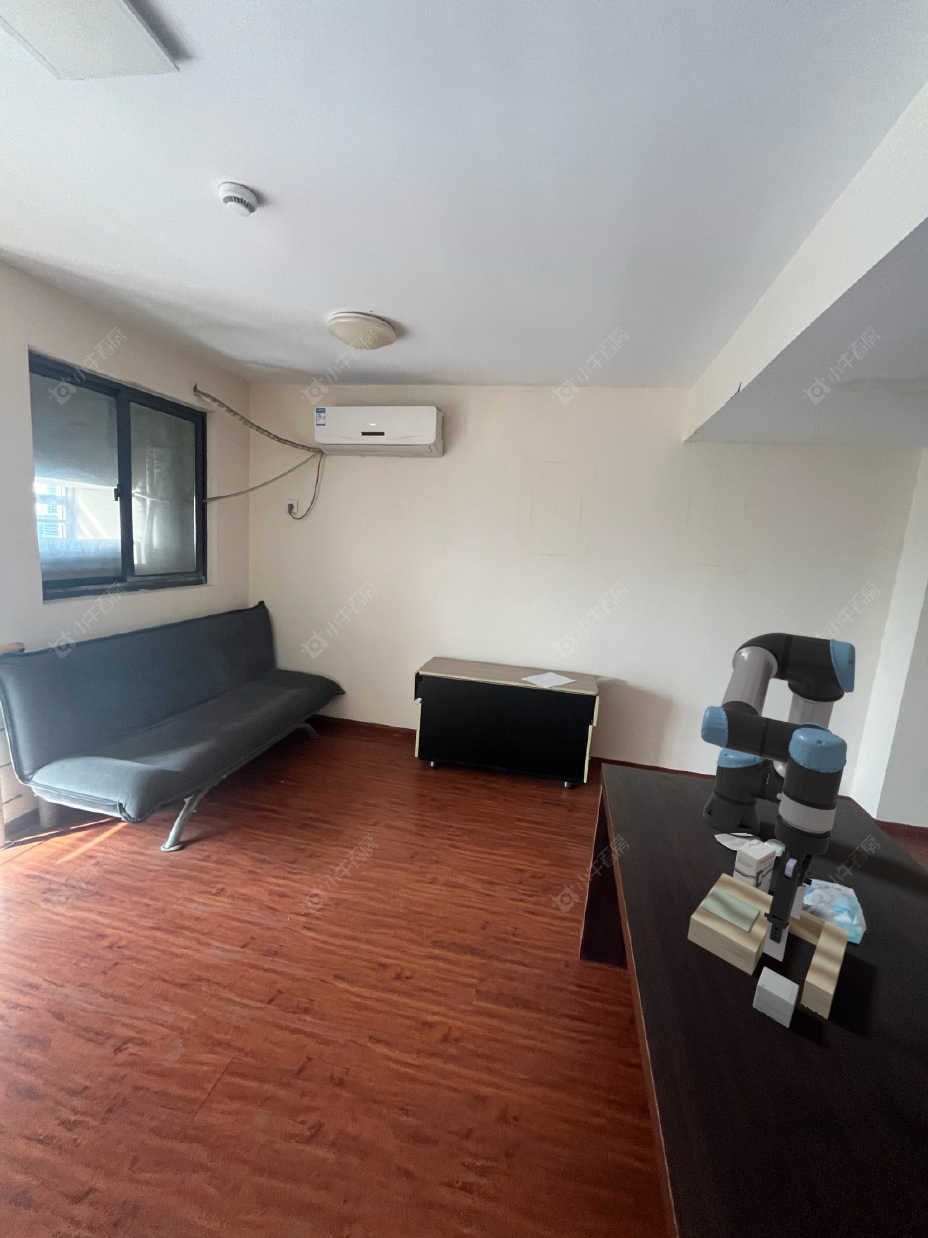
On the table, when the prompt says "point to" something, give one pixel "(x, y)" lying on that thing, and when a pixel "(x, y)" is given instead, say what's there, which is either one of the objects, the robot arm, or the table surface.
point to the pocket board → (740, 930)
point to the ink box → (755, 865)
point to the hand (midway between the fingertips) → (782, 934)
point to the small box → (776, 996)
